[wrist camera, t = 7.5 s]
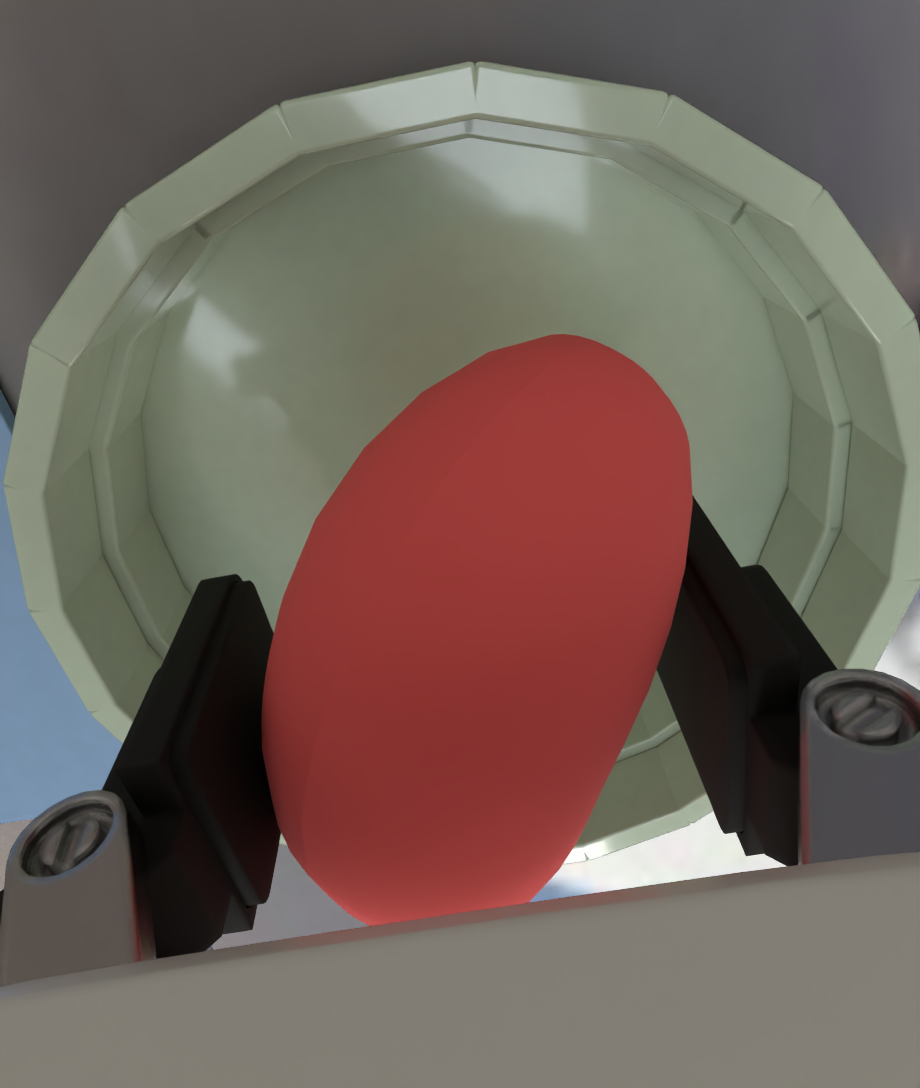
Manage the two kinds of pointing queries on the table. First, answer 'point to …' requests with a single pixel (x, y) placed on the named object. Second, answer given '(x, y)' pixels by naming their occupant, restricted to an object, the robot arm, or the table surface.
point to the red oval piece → (477, 631)
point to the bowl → (460, 363)
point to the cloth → (38, 697)
